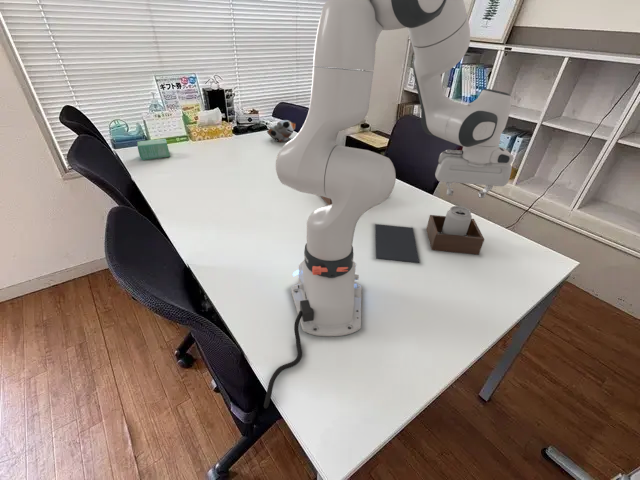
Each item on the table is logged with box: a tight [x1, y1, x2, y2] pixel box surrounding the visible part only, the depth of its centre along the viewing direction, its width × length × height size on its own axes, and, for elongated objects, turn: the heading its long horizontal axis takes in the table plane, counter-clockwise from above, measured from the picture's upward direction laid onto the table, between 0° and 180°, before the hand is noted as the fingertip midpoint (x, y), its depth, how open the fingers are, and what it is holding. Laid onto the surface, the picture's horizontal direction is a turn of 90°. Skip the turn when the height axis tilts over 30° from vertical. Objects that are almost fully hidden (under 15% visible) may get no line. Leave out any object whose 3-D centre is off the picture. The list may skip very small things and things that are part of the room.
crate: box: [425, 214, 485, 256], centre depth 108 cm, size 13×15×6 cm
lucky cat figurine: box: [266, 119, 296, 143], centre depth 192 cm, size 15×12×14 cm
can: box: [440, 205, 473, 236], centre depth 106 cm, size 8×8×12 cm
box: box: [136, 138, 171, 161], centre depth 163 cm, size 7×14×8 cm, turn 116°
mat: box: [374, 223, 420, 264], centre depth 108 cm, size 20×13×1 cm, turn 173°
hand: (465, 195), depth 100 cm, fingers open, 8 cm apart
